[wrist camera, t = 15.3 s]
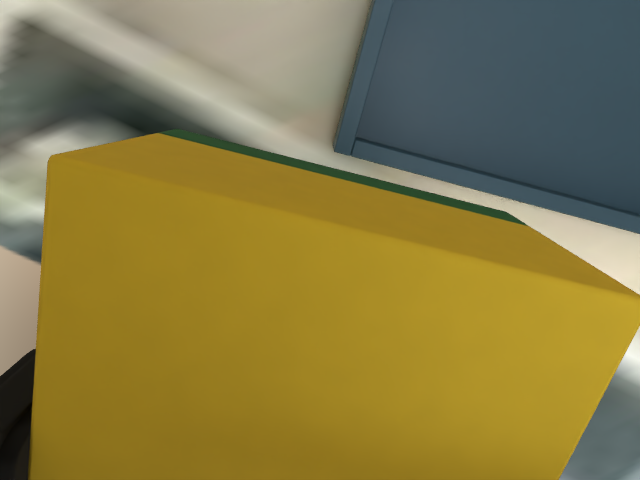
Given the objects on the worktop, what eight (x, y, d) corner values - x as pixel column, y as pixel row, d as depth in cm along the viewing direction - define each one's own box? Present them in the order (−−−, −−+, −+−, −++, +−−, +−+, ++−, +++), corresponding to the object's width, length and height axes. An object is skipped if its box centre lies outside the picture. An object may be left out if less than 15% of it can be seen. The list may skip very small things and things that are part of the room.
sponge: (366, 574, 12) (387, 809, 8) (116, 526, 11) (8, 750, 7) (508, 211, 9) (656, 302, 5) (175, 127, 8) (44, 153, 4)
